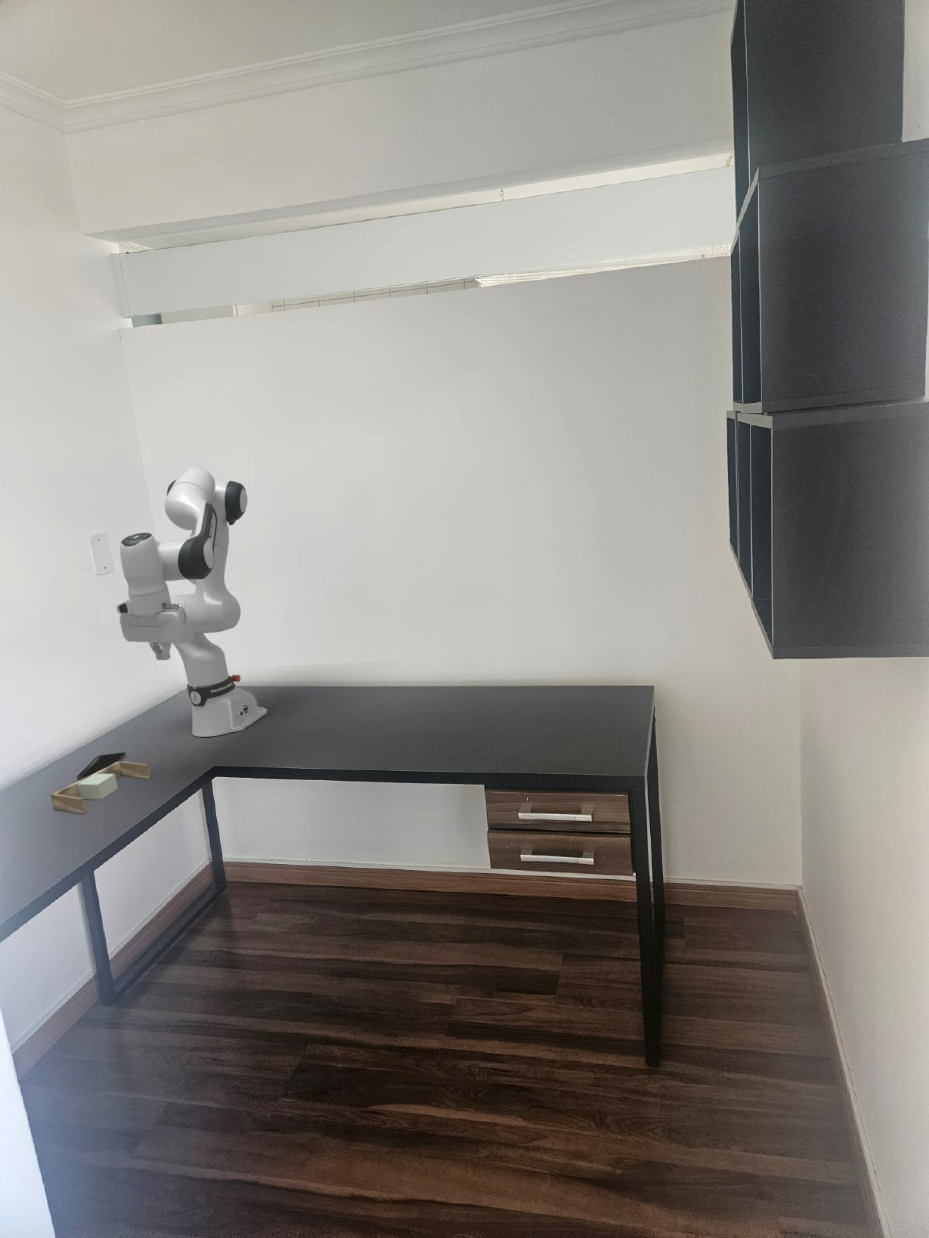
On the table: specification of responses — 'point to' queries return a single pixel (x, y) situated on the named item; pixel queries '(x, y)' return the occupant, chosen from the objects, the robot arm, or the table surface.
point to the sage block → (97, 786)
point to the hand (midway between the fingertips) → (163, 659)
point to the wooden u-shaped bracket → (70, 795)
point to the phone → (101, 764)
